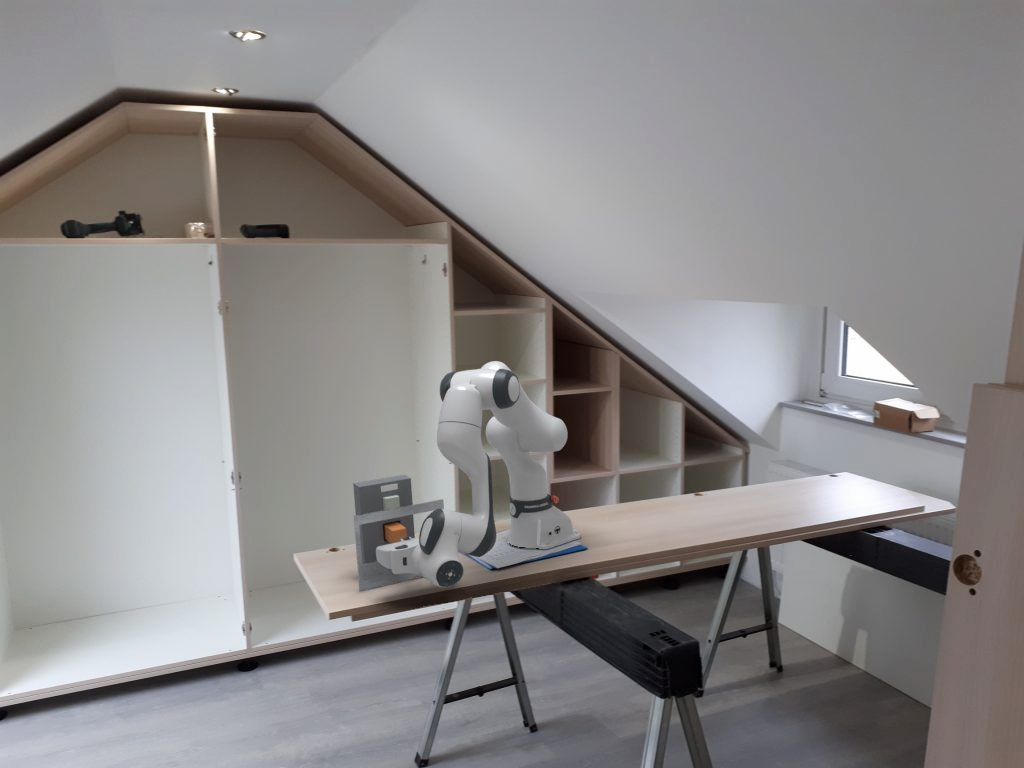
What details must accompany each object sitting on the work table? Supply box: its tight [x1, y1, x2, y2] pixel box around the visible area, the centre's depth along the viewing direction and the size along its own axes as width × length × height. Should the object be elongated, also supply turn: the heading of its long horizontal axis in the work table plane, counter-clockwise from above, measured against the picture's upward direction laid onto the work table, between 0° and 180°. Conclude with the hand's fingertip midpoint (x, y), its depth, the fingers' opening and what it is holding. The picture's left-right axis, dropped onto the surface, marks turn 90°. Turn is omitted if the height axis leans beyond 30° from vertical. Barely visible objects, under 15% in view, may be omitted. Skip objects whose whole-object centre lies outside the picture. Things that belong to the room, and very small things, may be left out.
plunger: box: [384, 522, 407, 544], centre depth 232 cm, size 7×4×4 cm, turn 28°
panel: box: [352, 474, 416, 564], centre depth 235 cm, size 7×15×26 cm, turn 118°
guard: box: [353, 498, 445, 592], centre depth 231 cm, size 8×25×20 cm, turn 118°
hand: (404, 540), depth 226 cm, fingers closed
